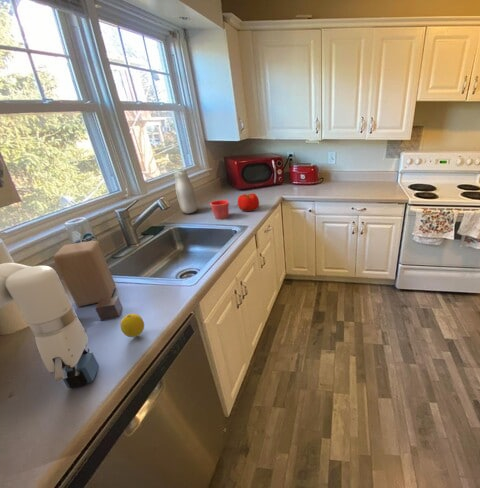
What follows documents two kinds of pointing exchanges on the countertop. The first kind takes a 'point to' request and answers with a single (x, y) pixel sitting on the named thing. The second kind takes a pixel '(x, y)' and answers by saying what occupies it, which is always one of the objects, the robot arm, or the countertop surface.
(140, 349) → the countertop surface
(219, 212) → the flower pot
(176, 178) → the glass bottle
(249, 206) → the tomato
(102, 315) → the block right
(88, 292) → the block
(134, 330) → the lemon
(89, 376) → the blue block
